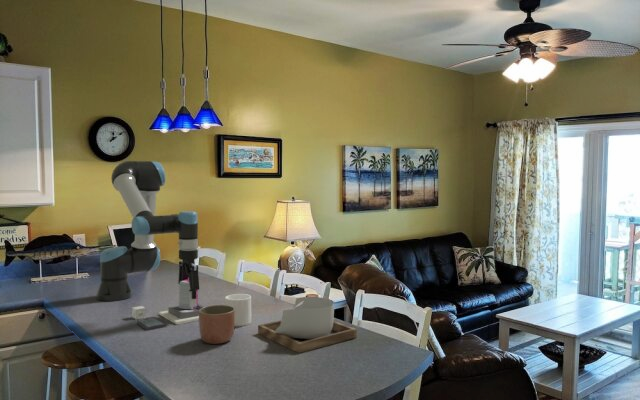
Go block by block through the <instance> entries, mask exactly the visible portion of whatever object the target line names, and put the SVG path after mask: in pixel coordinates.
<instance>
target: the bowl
mask: <svg viewBox="0 0 640 400" xmlns="http://www.w3.org/2000/svg"><path fill="white" fill-rule="evenodd" d="M334 316H335V301H334V300H332V299H329V298H324V297H321V296H319V297H318V296H317V297H316V296H303V297H296V299H295V302H294V308H292V309H285V310H283V312H282V316H281V319H280V321H281V324H280V326H279V327H278V328H277V329H276V330H275V333H279V334H283V335H285V336H287V337H290V338H292V339H299V340H300V339H303V340H310V339H314V338H318V337H322V336H326V335H330V334H331V332H332V331H333V330H332V328H333V322H334V321H335V317H334Z"/></svg>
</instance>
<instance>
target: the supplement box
mask: <svg viewBox="0 0 640 400" xmlns="http://www.w3.org/2000/svg"><path fill="white" fill-rule="evenodd" d="M178 285H179V289H178V290H179V292H178V293H179V295H178V298H179V299H178V301H179V302H178V306H179V310H193V309H195V308H197V307H198V304H199V302H198V301H199V300H198V298H199V295H198V294H199V290H197V306H195V307H190V299H189V290H190V284H189V279H188V280H187V279H186V280H183V281H181V282H179V284H178Z"/></svg>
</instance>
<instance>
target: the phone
mask: <svg viewBox="0 0 640 400" xmlns="http://www.w3.org/2000/svg"><path fill="white" fill-rule="evenodd" d="M136 324H137V325H138V326H140V327H141V328H143V329H144V330H146V331H150V330H155V329H160V328H161V329H162V328H165V327H166V323H164V322H162V321H161V320H159V319H157V318H156V317H151V318H145V319H141V320H140V319H138V320H136Z"/></svg>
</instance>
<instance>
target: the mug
mask: <svg viewBox="0 0 640 400" xmlns="http://www.w3.org/2000/svg"><path fill="white" fill-rule="evenodd" d="M224 300H225V301H224V302H225V303H224V305H227V306H232V307H234V308H235V323H234V328H235V327H246V326H249V325H250V324H251V323H252V295H250V294H247V293H246V294H245V293H234V294H233V293H232V294H228V295H226V296H225V297H224Z"/></svg>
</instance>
